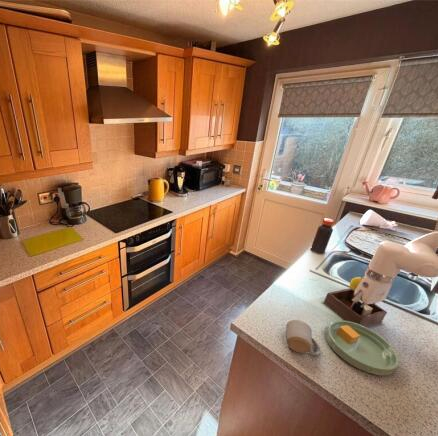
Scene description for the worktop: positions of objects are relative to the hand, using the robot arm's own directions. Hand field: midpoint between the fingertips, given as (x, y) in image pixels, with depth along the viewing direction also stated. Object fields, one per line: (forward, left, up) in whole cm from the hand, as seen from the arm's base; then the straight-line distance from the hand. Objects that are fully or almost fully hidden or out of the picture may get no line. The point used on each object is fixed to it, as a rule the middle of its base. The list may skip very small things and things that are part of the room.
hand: (359, 311), depth 91 cm
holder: (0, -2, -3) cm, 4 cm away
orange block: (+14, +7, -3) cm, 16 cm away
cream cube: (0, 0, 0) cm, 0 cm away
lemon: (-14, -11, -4) cm, 18 cm away
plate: (+14, +11, -3) cm, 18 cm away
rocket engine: (-96, -58, -4) cm, 113 cm away
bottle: (-28, -43, -4) cm, 52 cm away
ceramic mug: (+32, +5, -4) cm, 32 cm away
